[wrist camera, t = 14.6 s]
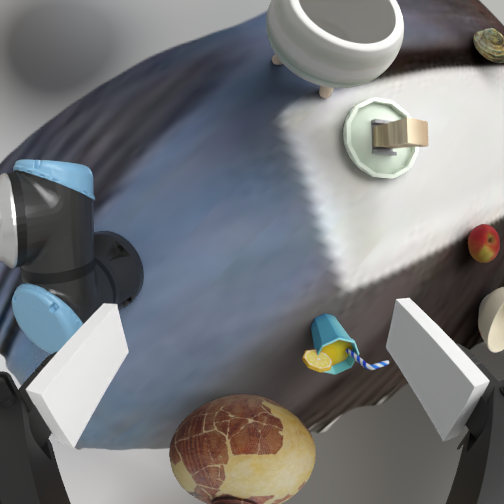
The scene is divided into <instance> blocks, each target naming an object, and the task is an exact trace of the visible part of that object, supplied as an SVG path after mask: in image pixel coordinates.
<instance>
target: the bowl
mask: <svg viewBox="0 0 504 504" xmlns="http://www.w3.org/2000/svg"><path fill="white" fill-rule="evenodd" d="M478 327H479V332H480V334H481V336H482V338H483V340H484V342H485V343H486V345H487V347H488V348H489V350H490V351H491V352H499V351H502V350H503V349H504V287H501V288H498V289H496V290H494V291H493V292H492V293H490V294H488V295H487V296H485V297H484V299H483V300H482V302H481V304H480V306H479V316H478Z"/></svg>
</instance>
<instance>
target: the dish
mask: <svg viewBox="0 0 504 504" xmlns="http://www.w3.org/2000/svg"><path fill="white" fill-rule="evenodd" d="M403 118H411V117H410V115H409V114H408V112H407V111H405V110H404V109H403V108H402V107H400V106H399V105H398V104H397V103H395V102H394V101H392V100H388V99H382V98H375V97H372V98H370V99H368V100H366V101H364V102H362V103H360V104H358V105H356V106H354V107H353V109H352V110H351V111H350V112H349V114H348V115H347V118H346V120H345V123H344V127H343V141H344V145H345V148H346V151H347V153H348V155H349V157H350V159H351V160H352V161H353V163H354V164H355V165H356V166H357V167H358V168H359V169H360V170H362V171H363V172H365V173H366V174H369V175H371V176H372V177H380V178H393V179H394V178H396V177H398V176H400V175H401V174H403V173H405V172H406V171H408V170H410V168H411V166H412V164H413V163H414V161H415V159H416V156H417V154H418V147H408V148H395V149H388V148H379V147H374V144H373V127H375V126H378V125H382V124H385V123H389V122H392V121H396V120H400V119H403Z"/></svg>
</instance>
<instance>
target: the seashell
mask: <svg viewBox="0 0 504 504" xmlns="http://www.w3.org/2000/svg"><path fill="white" fill-rule="evenodd" d="M473 42H474V45H475V47H476V49H477V50H478V52H479V53H480V54H481V55H482V56H484V57H485V58H486V59H488V60H490V61H492V62H496V63H503V62H504V36H503V35H502V34H500V33H499V32H498V31H496V30H495V29H493V28H490V29H485V31H479V32H477V33H476V34H474V38H473Z"/></svg>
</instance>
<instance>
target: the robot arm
mask: <svg viewBox="0 0 504 504" xmlns="http://www.w3.org/2000/svg"><path fill="white" fill-rule="evenodd" d="M13 171H14V172H11V173H3V174H1V175H0V261H2V262H3V263H4V264H6V265H7V266H8V267H10V268H16V267H19V266H20V270H21V276H22V282H23V284H22V285H20V286H18V287H17V289H16V291H15V292H14V296H13V297H12V308H13V312H14V316H15V318H16V320H17V322H18V324H19V326H20V328H21V329H22V331H23V332H24V333H25V335H26V336H27V337H28V338H29V339H30V340H31V341H32V342H33V343H34V344H35V345H36V346H38V347H39V348H40V349H42V350H44V351H45V352H47V353H49V354H51V355H50V356H48V357H47V358H46V359H45V360H44V361H43V362H42V363H41V364H40V366H39V367H38V368H37V369H36V370H35V372H33V373H32V374H31V376H30V377H29V378H28V379H27V380H26V381H25V383H24V384H23V385H22V386H21V387H20V388H19V390H18V389H17V387H16V385H15V383H14V381H13V379H12V377H11V375H10V374H9V373H7V372H0V504H71V503H70V501H69V498H68V495H67V493H66V490H65V487H64V484H63V481H62V478H61V475H60V472H59V469H58V465H57V462H56V459H55V455H54V451H53V448H52V444H51V442H50V440H49V439H48V438H49V436H50V435H51V433H52V434H53V436H54V437H55V438H56V440H57V441H58V443H61V444H64V445H66V446H69V447H72V448H74V447H75V445H76V443H77V441H78V440H79V438H80V436H81V434H82V432H83V430H84V428H85V427H86V425H87V423H88V421H89V419H90V417H91V416H92V414H93V412H94V410H95V408H96V407H97V405H98V403H99V401H100V400H101V398H102V396H103V394H104V393H105V391H106V389H107V387H108V386H109V384H110V382H111V381H112V379H113V377H114V376H115V374H116V372H117V370H118V369H119V367H120V365H121V364H122V362H123V360H124V359H125V357H126V355H127V354H128V352H129V351H128V347H127V344H126V340H125V336H124V332H123V328H122V324H121V320H120V315H119V311H118V309H121V308H124V307H126V306H127V305H129V304H130V303H131V302H132V301H133V300H134V299H135V298H136V296H137V295H138V294H139V292H140V290H141V288H142V284H143V277H144V274H143V266H142V263H141V260H140V257H139V255H138V253H137V252H136V250H135V249H134V247H133V246H132V245H131V244H130V243H129V242H128V241H127V240H126V239H125V238H123V237H122V236H120V235H118V234H116V233H113V232H109V231H99V232H95V233H94V219H93V201H95V197H94V195H93V174H92V172H91V170H90V169H89V168H88V167H87V166H84V165H81V164H76V163H69V162H60V161H48V160H42V161H40V160H18V161H16V163H15V166H14V167H13ZM386 348H387V350H388V351H389V353H390V354H391V356H392V358H393V359H394V361H395V362H396V364H397V365H398V367H399V368H400V370H401V372H402V373H403V375H404V376H405V378H406V379H407V381H408V383H409V384H410V386H411V387H412V389H413V391H414V392H415V394H416V395H417V397H418V399H419V401H420V402H421V403H422V406H423V407H424V409H425V410H426V412H427V414H428V416H429V417H430V419H431V421H432V422H433V424H434V426H435V427H436V429H437V431H438V433H439V434H440V436H441V438H442V440H443V441H446V440H449V439H451V438H454V437H456V436H458V435H459V434H460V432H461V431H462V429H463V428H464V426H465V425H466V426H467V427H468V429H469V431H468V433H467V434H466V435H465V437H464V439H463V440H462V441H461V443H460V444H459V446H458V448H457V449H460V447H461V446H462V445H463V444H464V446H463V450H462V453H461V457H460V461H459V465H458V468H457V472H456V475H455V478H454V482H453V485H452V488H451V491H450V494H449V496H448V499H447V502H446V504H504V380H503V381H500V382H498V381H497V380H496V379H495V377H494V376H493V375H492V374H491V373H490V372H489V371H488V370H487V369H486V368H485V366H484V365H483V364H482V363H480V361H479V360H478V359H477V358H476V357H474V355H473V354H472V353H471V352H470V351H469V350H468V349H467V348H465V347H464V346H462V345H460V344H455V343H454V342H453V341H452V340H451V339H450V338H449V337H448V336H447V334H446V333H445V332H444V331H443V330H442V329H441V328H440V327H439V326H438V325H437V324H436V323H435V322H434V321H433V320H432V319H431V318H430V317H428V316H427V315H426V314H425V313H424V312H423V311H422V310H421V309H420V308H419V307H418V306H417V305H416V304H415V303H414V302H413V301H412V300H411V299H410V298H403V299H396V302H395V307H394V312H393V317H392V322H391V327H390V331H389V336H388V340H387V344H386Z"/></svg>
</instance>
